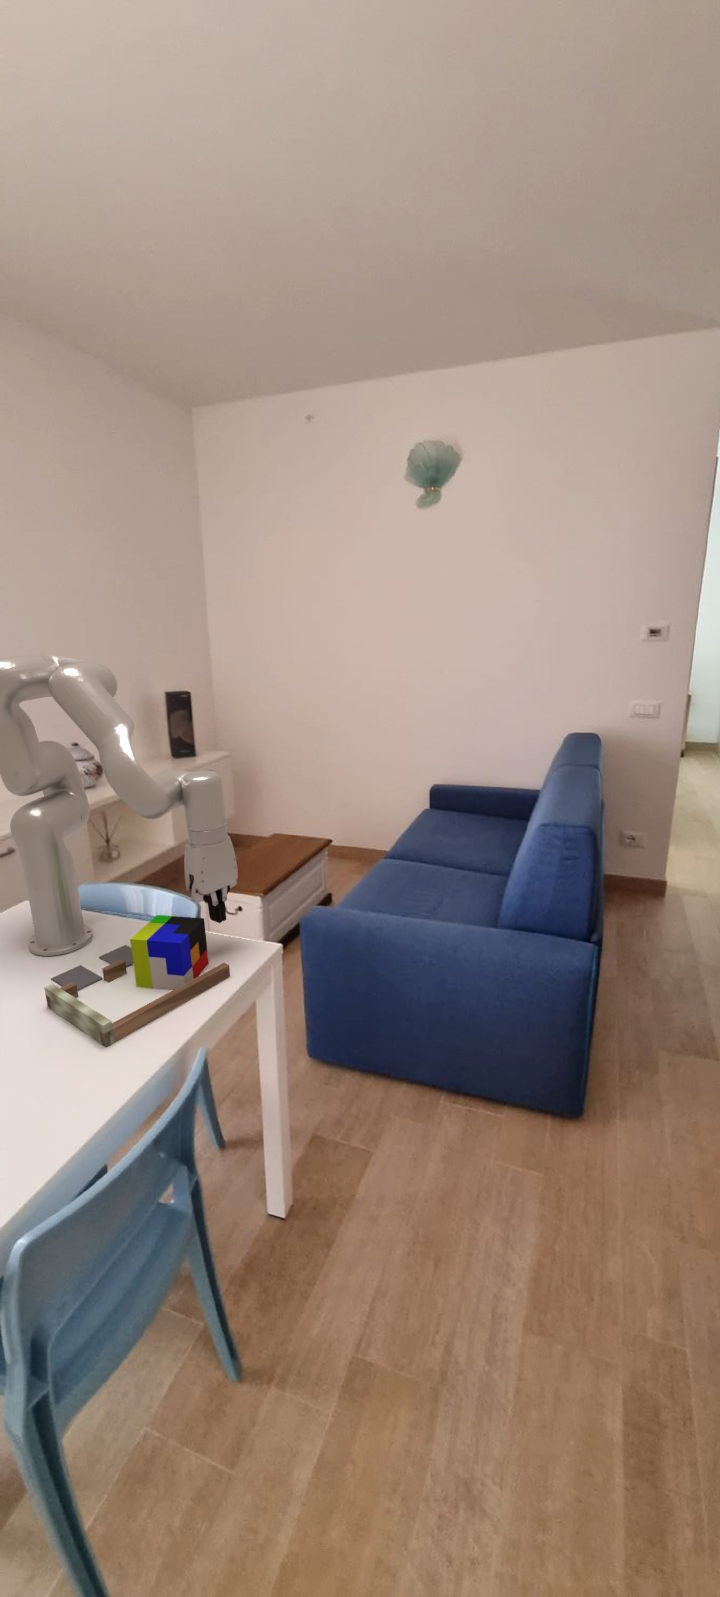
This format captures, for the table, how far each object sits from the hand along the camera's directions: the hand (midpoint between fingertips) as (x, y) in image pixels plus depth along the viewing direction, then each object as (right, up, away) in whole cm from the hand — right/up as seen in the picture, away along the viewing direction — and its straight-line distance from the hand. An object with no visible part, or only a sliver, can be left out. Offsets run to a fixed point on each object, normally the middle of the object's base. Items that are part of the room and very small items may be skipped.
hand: (218, 919), depth 131 cm
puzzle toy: (-7, -10, -6) cm, 14 cm away
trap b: (-20, -8, +1) cm, 21 cm away
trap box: (-12, -11, -11) cm, 20 cm away
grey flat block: (-26, -10, -7) cm, 28 cm away
